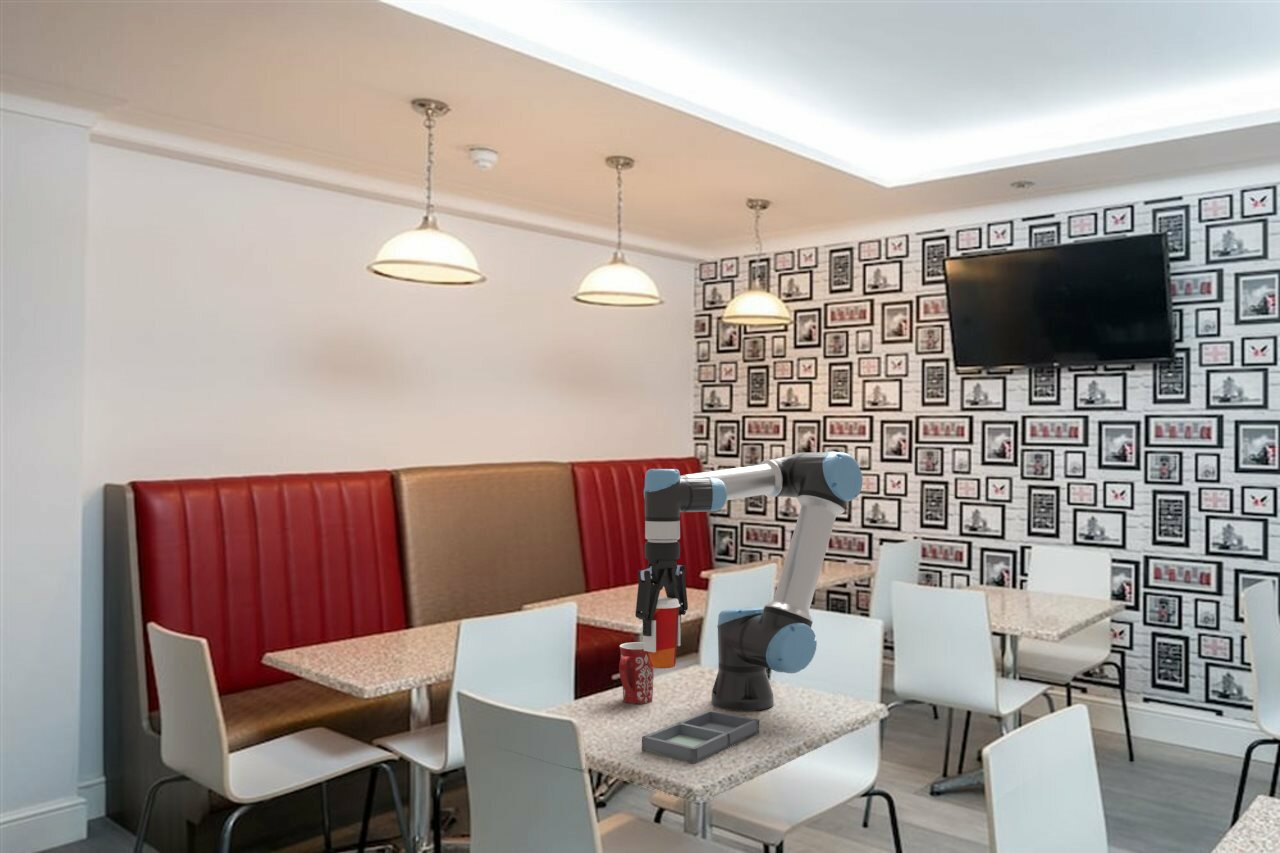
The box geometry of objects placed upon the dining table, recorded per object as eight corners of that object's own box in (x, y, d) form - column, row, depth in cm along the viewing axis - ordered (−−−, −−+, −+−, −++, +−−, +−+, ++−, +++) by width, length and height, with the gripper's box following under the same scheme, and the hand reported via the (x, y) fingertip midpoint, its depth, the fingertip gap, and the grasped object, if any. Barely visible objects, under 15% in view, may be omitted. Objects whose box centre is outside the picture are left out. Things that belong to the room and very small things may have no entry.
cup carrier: (709, 722, 200) (709, 709, 201) (759, 732, 192) (759, 719, 193) (641, 750, 181) (641, 736, 181) (694, 763, 173) (694, 749, 173)
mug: (631, 693, 226) (631, 640, 227) (662, 698, 221) (662, 643, 222) (604, 705, 215) (604, 649, 216) (636, 710, 210) (636, 653, 211)
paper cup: (656, 660, 194) (656, 595, 195) (687, 664, 190) (687, 598, 190) (637, 666, 187) (637, 600, 188) (668, 671, 183) (668, 603, 184)
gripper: (677, 536, 200) (677, 638, 199) (617, 542, 184) (617, 653, 183) (704, 538, 195) (704, 643, 194) (645, 544, 179) (645, 658, 178)
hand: (662, 648), depth 189 cm, fingers closed on paper cup, 8 cm apart
